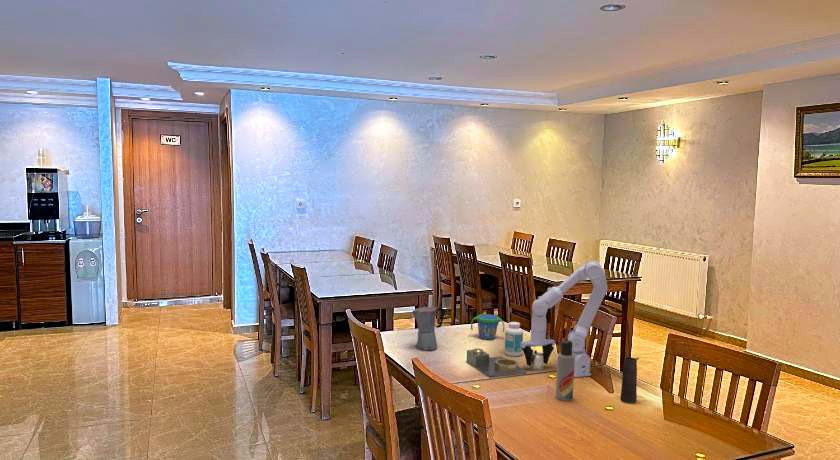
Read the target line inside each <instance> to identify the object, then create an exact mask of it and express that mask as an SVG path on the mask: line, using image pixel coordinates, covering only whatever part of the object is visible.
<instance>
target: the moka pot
mask: <svg viewBox="0 0 840 460" xmlns="http://www.w3.org/2000/svg"><path fill="white" fill-rule="evenodd" d="M423 305H424V306H422V307H417V308H415V309H413V310H411V313H412V315H413V317H414V319H415V320H416V326H417V330H418V331H417V343H416V348H417V350H419V351H430V352H431V351H434V350H436V349H438V345H437V344H438V343H437V337H436V332H435V330H436V329H439V328H442V324H443V321H444V318H445V314H446V311H445V309H444V308H443V307H442V305H440V306H436V307H432V306H431V307H430V306H428V303H427V302H425V303H424V304H423ZM440 311H441V312H442V313H441V315H440V320H439V324H438V325H436V316H437V315H436V314H437V313H439V312H440Z"/></svg>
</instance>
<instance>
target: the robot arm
mask: <svg viewBox="0 0 840 460" xmlns="http://www.w3.org/2000/svg"><path fill="white" fill-rule="evenodd" d="M587 278H588V279H589V281H591V284H592V286H593V289H592V291H591V293H590V295H589V297H588V299H587V302H586V304H585V306H584V308H583V310H582V312H581V315H580V316H579V318H578V320H577V323H576V324H575V326H574V327H573V329H572V330H571V331H570V332H569V333H568V334H567V340H568V341H572V343H573V346H572V354H573V355H574V356H575V364H574V378H581V377H588V376H592V373H590V372H591V359H590V356H589V355H588V354H587V353H586V348H585V347H586V339H587V337H588V333H589V330H590V327H591V325H592V323H593V321H594V320H595V317H596V315H597V313H598V310H599V308H600V306H601V303H602V302H603V300H604V298H605V296H606V293H607V292H608V282H607V278H606V272H605V271H604V269H603V267H602V266H601V263H599V261H596V260H594V259H593V260H588V261H586V263H585V264H583V265H580V266H579V268H577V269H576V270H575V271H574V272H572V273H571V274H570V275H569V276H568V277H567V278H566V279H564V281H563V282H562V283H560V284H559V285H557V286H552V287H548V288H547V291H546V292H544V293H543V294H542V295H541V296H540V295H539V296H538V297H537V299H535V300H534V301H533V303H532V306H531V311H532V314H531V327H530V339H529V340H525V341H524V340H523V342H521V347H522V353H523V354H524V357H525V361H526V365H527V366H529V367H530V366H531V361H532V354H533V352H534V350H535V349H532V348H533V347H542V348H541V349H542V353H543V354H544V365H548V361H549V360H550V356H551V355H552V353H553V351H554V350H555V349H554V348H555V345H556V340H554V339H552V338H551V339H546V338H547V337H546V335H547V318H546V317H547V313H548V309H551V308H552V307H554V306H556V304H557V303H559V302H560V301H561V300H562V299H564V293H566V291H569V290H570V288H572V287H573V286H574V285H576V284H577V283H578V282H581V281H582V282H584V281H588V279H587Z"/></svg>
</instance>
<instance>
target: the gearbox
mask: <svg viewBox="0 0 840 460" xmlns="http://www.w3.org/2000/svg"><path fill="white" fill-rule="evenodd" d="M466 363H467V364H469V365H471V366H472V367H474V368H475V369H476V370H478V371H479V372H481V373H482V374H483V375H484V376H487V377H488V378H491V379H492V378H497V377H498V378H499V377H500V378H501V377H511V376H517V375H518V376H519V375H526V374H527V373H528V372H527V370H525V369H523V368H522V367H520V366H519V362H518V361H516V360H514V359H509V358H505V357H503V356H493V357H490V354H489V353H488V352H486V351H484V349H482V348H473V349H468V350H466Z"/></svg>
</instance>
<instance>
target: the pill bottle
mask: <svg viewBox="0 0 840 460" xmlns="http://www.w3.org/2000/svg"><path fill="white" fill-rule="evenodd" d="M520 326H521V322H517V321H510V322H508V327H506V328H505V330H504V331H505V332H504V333H505V335H504V353H505V355H507V356H509V357H519V356H522V354H523V350H522V347H521V342H524V340H523V339H524V338H523V337H524V331H523V329H522V328H521V327H520Z"/></svg>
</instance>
